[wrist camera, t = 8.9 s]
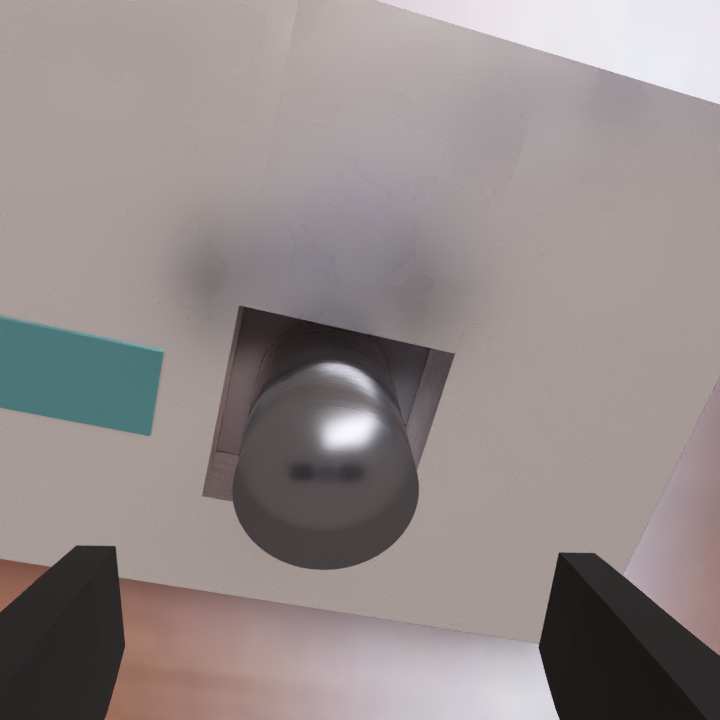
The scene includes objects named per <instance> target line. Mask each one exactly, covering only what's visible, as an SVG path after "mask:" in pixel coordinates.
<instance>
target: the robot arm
mask: <svg viewBox="0 0 720 720" xmlns="http://www.w3.org/2000/svg"><path fill="white" fill-rule="evenodd" d="M124 648H125V640H124V629H123V619H122V608H121V597H120V587H119V576H118V565H117V554H116V546H81V545H76V546H75V547H74V548H73V549H72V550H70V551H69V552H68V553H67V554H66V555H65V556H63V557H62V558H61V559H60V560H59V561H58V562H56V563H55V564H54V565H53V566H52V567H51V568H50V569H49V570H47V571H46V572H45V573H44V574H43V575H42V576H41V577H40V578H38V579H37V580H36V581H35V582H34V583H33V584H32V585H31V586H30V587H28V588H27V589H26V590H25V591H24V592H23V593H22V594H21V595H19V596H18V597H17V598H16V599H15V600H14V601H13V602H11V603H10V604H9V605H8V606H7V607H6V608H5V609H4V610H2V611H1V612H0V720H104V719H105V716H106V714H107V711H108V707H109V704H110V700H111V697H112V693H113V690H114V686H115V683H116V679H117V675H118V671H119V667H120V663H121V660H122V656H123V652H124ZM539 650H540V654H541V658H542V662H543V666H544V669H545V673H546V677H547V681H548V684H549V688H550V691H551V695H552V698H553V701H554V705H555V708H556V711H557V714H558V716H559V719H560V720H720V656H719V655H718V654H717V653H715V652H714V651H713V650H712V649H710V648H709V647H708V646H707V645H705V644H704V643H703V642H702V641H700V640H699V639H698V638H697V637H695V636H694V635H693V634H692V633H691V632H689V631H688V630H687V629H686V628H684V627H683V626H682V625H681V624H680V623H678V622H677V621H676V620H675V619H674V618H672V617H671V616H670V615H669V614H668V613H666V612H665V611H664V610H663V609H662V608H660V607H659V606H658V605H657V604H656V603H655V602H653V601H652V600H651V599H650V598H649V597H647V596H646V595H645V594H644V593H643V592H642V591H640V590H639V589H638V588H637V587H636V586H634V585H633V584H632V583H631V582H630V581H628V580H627V579H626V578H625V577H624V576H623V575H621V574H620V573H619V572H618V571H617V570H615V569H614V568H613V567H612V566H610V565H609V564H608V563H607V562H605V561H604V560H603V559H602V558H600V557H599V556H598V555H596V554H595V553H565V552H559V554H558V558H557V563H556V568H555V573H554V577H553V582H552V587H551V591H550V596H549V601H548V605H547V610H546V615H545V620H544V624H543V629H542V634H541V638H540V643H539Z"/></svg>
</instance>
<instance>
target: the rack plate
mask: <svg viewBox="0 0 720 720" xmlns="http://www.w3.org/2000/svg"><path fill="white" fill-rule="evenodd" d="M244 307H249V308H253V309H258V310H262V311H267V312H271V313H276V314H280V315H285V316H289V317H293V318H298V319H302V320H307V321H311V322H316V323H320V324H325V325H329V326H334V327H338V328H343V329H347V330H352V331H356V332H361V333H365V334H370V335H374V336H379V337H383V338H387V339H392V340H396V341H401V342H405V343H410V344H414V345H419V346H423V347H428V348H431V349H430V352H429V355H428V358H427V362H426V365H425V368H424V371H423V375H422V378H421V381H420V384H419V387H418V391H417V394H416V397H415V400H414V403H413V407H412V410H411V413H410V416H409V419H408V423H407V426H406V433H407V436H408V440H409V444H410V448H411V451H412V455H413V459H414V463H415V466H416V470H417V474H418V481H419V497H418V503H417V507H416V510H415V513H414V516H413V518H412V520H411V522H410V524H409V526H408V527H407V529H406V530H405V532H404V533H403V534H402V535H401V537H400V538H399V539H398V540H397V541H396V542H395V543H394V544H393V545H392V546H390V547H389V548H388V549H387V550H385V551H384V552H382V553H381V554H380V555H378V556H376V557H374V558H372V559H370V560H368V561H366V562H363V563H361V564H358V565H355V566H351V567H347V568H341V569H334V570H314V569H307V568H301V567H297V566H294V565H290V564H287V563H285V562H282V561H280V560H278V559H276V558H274V557H273V556H271V555H269V554H268V553H266V552H265V551H263V550H262V549H261V548H260V547H258V546H257V545H256V544H255V543H254V542H253V541H252V540H251V538H250V537H249V536H248V535H247V534H246V532H245V531H244V529H243V527H242V526H241V524H240V522H239V520H238V518H237V515H236V512H235V508H234V505H233V496H232V487H233V479H234V474H235V470H236V465H237V461H238V457H239V455H234V454H229V453H223V452H218V451H216V447H217V442H218V437H219V432H220V427H221V422H222V417H223V412H224V407H225V402H226V397H227V392H228V387H229V382H230V377H231V372H232V367H233V362H234V356H235V351H236V346H237V341H238V336H239V331H240V326H241V321H242V316H243V311H244ZM719 377H720V105H719V104H716V103H713V102H709V101H706V100H703V99H699V98H696V97H693V96H689V95H686V94H683V93H680V92H676V91H673V90H670V89H666V88H663V87H660V86H656V85H653V84H650V83H646V82H643V81H640V80H636V79H633V78H630V77H626V76H623V75H620V74H617V73H613V72H610V71H607V70H603V69H600V68H597V67H593V66H590V65H587V64H583V63H580V62H577V61H573V60H570V59H567V58H564V57H560V56H557V55H554V54H550V53H547V52H544V51H540V50H537V49H534V48H530V47H527V46H524V45H520V44H517V43H514V42H511V41H507V40H504V39H501V38H497V37H494V36H491V35H487V34H484V33H481V32H477V31H474V30H471V29H467V28H464V27H461V26H457V25H454V24H451V23H448V22H444V21H441V20H438V19H434V18H431V17H428V16H424V15H421V14H418V13H414V12H411V11H408V10H404V9H401V8H398V7H395V6H391V5H388V4H385V3H381V2H378V1H375V0H0V559H5V560H11V561H18V562H24V563H30V564H37V565H43V566H49V567H52V566H53V565H54V564H55V563H56V562H58V561H59V560H60V559H61V558H62V557H63V556H65V555H66V554H67V553H68V552H69V551H70V550H72V549H73V548H74V547H75V546H76V545H81V546H116V554H117V565H118V576H119V578H126V579H132V580H138V581H145V582H151V583H157V584H164V585H170V586H176V587H183V588H189V589H195V590H202V591H208V592H214V593H221V594H227V595H234V596H240V597H246V598H253V599H259V600H265V601H272V602H278V603H284V604H291V605H297V606H303V607H310V608H316V609H322V610H329V611H335V612H342V613H348V614H354V615H361V616H367V617H373V618H380V619H386V620H392V621H399V622H405V623H411V624H418V625H424V626H431V627H437V628H443V629H450V630H456V631H462V632H469V633H475V634H481V635H488V636H494V637H500V638H507V639H513V640H519V641H526V642H532V643H540V638H541V634H542V629H543V624H544V620H545V615H546V610H547V605H548V601H549V596H550V591H551V587H552V582H553V577H554V573H555V568H556V563H557V558H558V554H559V552H565V553H595V554H596V555H598V556H599V557H600V558H602V559H603V560H604V561H605V562H607V563H608V564H609V565H610V566H612V567H613V568H614V569H615V570H617V571H618V572H619V573H620V574H621V575H623V574H624V572H625V570H626V567H627V565H628V563H629V561H630V559H631V557H632V555H633V553H634V551H635V549H636V547H637V545H638V543H639V541H640V539H641V537H642V535H643V533H644V531H645V529H646V527H647V524H648V522H649V520H650V518H651V516H652V514H653V512H654V510H655V508H656V506H657V504H658V502H659V500H660V498H661V496H662V494H663V492H664V490H665V488H666V486H667V484H668V482H669V479H670V477H671V475H672V473H673V471H674V469H675V467H676V465H677V463H678V461H679V459H680V457H681V455H682V453H683V451H684V449H685V447H686V445H687V443H688V441H689V439H690V436H691V434H692V432H693V430H694V428H695V426H696V424H697V422H698V420H699V418H700V416H701V414H702V412H703V410H704V408H705V406H706V404H707V402H708V400H709V398H710V396H711V393H712V391H713V389H714V387H715V385H716V383H717V381H718V379H719Z"/></svg>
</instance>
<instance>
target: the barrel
mask: <svg viewBox="0 0 720 720" xmlns="http://www.w3.org/2000/svg"><path fill="white" fill-rule="evenodd" d="M232 496H233V505H234V508H235V512H236V515H237V518H238V520H239V522H240V524H241V526H242V527H243V529H244V531H245V532H246V534H247V535H248V536H249V537H250V538H251V540H252V541H253V542H254V543H255V544H256V545H257V546H258V547H260V548H261V549H262V550H263V551H265V552H266V553H268V554H269V555H271V556H273V557H274V558H276V559H278V560H280V561H282V562H285V563H287V564H290V565H294V566H297V567H301V568H307V569H314V570H334V569H341V568H347V567H351V566H355V565H358V564H361V563H363V562H366V561H368V560H370V559H372V558H374V557H376V556H378V555H380V554H381V553H382V552H384V551H385V550H387V549H388V548H389V547H390V546H392V545H393V544H394V543H395V542H396V541H397V540H398V539H399V538H400V537H401V535H402V534H403V533H404V532H405V530H406V529H407V527H408V526H409V524H410V522H411V520H412V518H413V516H414V513H415V510H416V507H417V503H418V497H419V481H418V474H417V470H416V466H415V463H414V459H413V455H412V451H411V448H410V444H409V440H408V436H407V433H406V429H405V425H404V421H403V418H402V414H401V410H400V406H399V403H398V399H397V395H396V392H395V388H394V384H393V380H392V377H391V373H390V369H389V366H388V362H387V360H386V358H385V355H384V353H383V352H382V350H381V349H380V347H379V346H378V345H377V344H376V342H375V341H374V340H373V339H372V338H371V337H369V336H368V335H367V334H365V333H361V332H356V331H352V330H347V329H343V328H338V327H334V326H329V325H325V324H320V323H316V322H308V323H304V324H301V325H298V326H296V327H294V328H292V329H290V330H288V331H287V332H285V333H284V334H282V335H281V336H280V337H279V338H278V339H277V340H276V341H275V342H274V343H273V344H272V345H271V346H270V348H269V349H268V350H267V352H266V354H265V356H264V358H263V360H262V363H261V366H260V370H259V374H258V378H257V382H256V386H255V391H254V395H253V399H252V403H251V407H250V411H249V415H248V420H247V424H246V428H245V432H244V436H243V440H242V445H241V449H240V453H239V457H238V461H237V465H236V470H235V474H234V479H233V487H232Z"/></svg>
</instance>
